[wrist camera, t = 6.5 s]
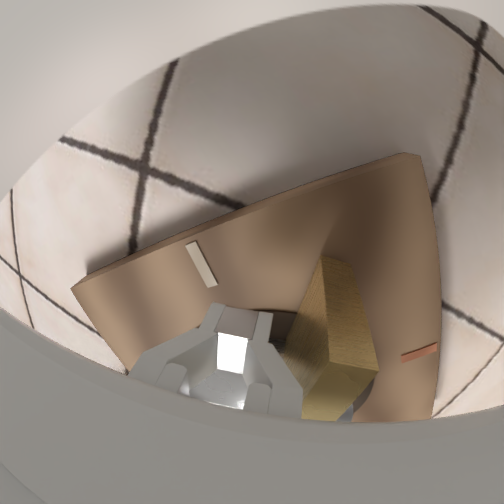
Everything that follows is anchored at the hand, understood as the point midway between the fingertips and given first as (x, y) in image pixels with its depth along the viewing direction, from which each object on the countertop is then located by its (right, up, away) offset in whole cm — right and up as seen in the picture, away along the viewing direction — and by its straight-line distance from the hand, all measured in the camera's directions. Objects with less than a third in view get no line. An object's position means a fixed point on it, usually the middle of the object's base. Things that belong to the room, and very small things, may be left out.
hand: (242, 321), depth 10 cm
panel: (+2, -5, +8) cm, 10 cm away
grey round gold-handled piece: (+2, -4, +4) cm, 7 cm away
